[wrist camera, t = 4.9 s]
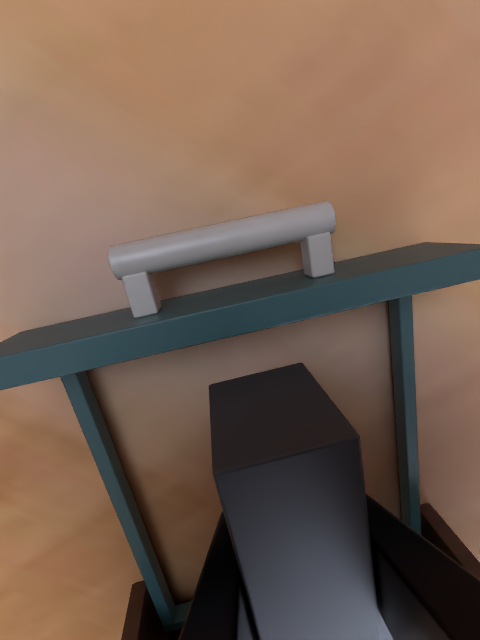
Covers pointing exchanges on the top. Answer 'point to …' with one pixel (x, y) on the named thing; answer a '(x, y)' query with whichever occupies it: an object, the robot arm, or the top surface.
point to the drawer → (234, 333)
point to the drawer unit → (149, 634)
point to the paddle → (295, 506)
